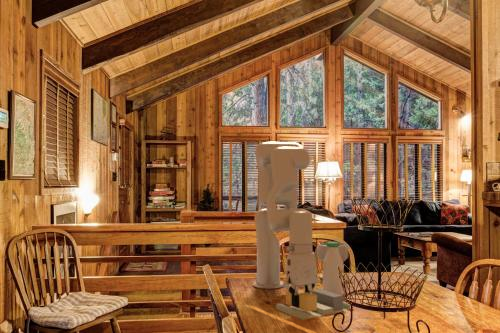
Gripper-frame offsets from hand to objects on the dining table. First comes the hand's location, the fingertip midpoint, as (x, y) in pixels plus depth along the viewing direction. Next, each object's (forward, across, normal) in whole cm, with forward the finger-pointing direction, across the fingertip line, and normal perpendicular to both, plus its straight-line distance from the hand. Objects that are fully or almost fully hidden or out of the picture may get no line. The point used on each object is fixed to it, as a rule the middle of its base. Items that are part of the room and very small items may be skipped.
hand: (301, 305), depth 152 cm
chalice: (+3, +47, +37) cm, 60 cm away
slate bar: (+2, +11, 0) cm, 11 cm away
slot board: (+3, +6, 0) cm, 6 cm away
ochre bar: (0, 0, 0) cm, 0 cm away
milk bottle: (+3, +26, +13) cm, 29 cm away
